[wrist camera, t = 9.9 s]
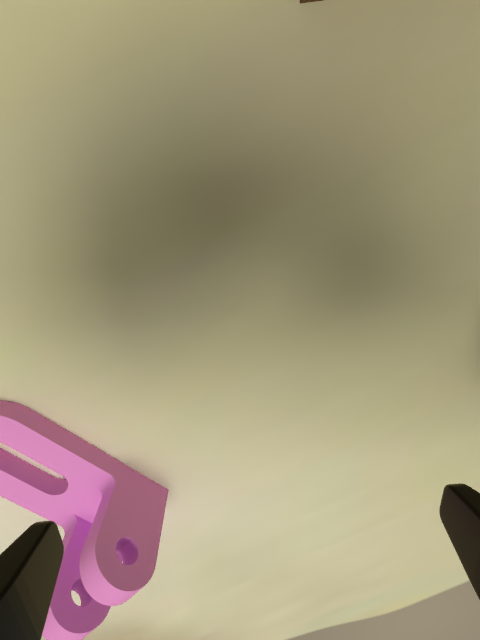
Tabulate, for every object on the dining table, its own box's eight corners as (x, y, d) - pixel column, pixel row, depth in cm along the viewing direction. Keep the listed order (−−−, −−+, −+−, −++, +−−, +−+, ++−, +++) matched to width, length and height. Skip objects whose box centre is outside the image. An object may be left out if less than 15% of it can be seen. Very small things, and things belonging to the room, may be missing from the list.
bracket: (168, 488, 23) (149, 603, 17) (120, 533, 25) (85, 656, 18) (-11, 382, 20) (-124, 477, 13) (-56, 442, 21) (-179, 555, 15)
